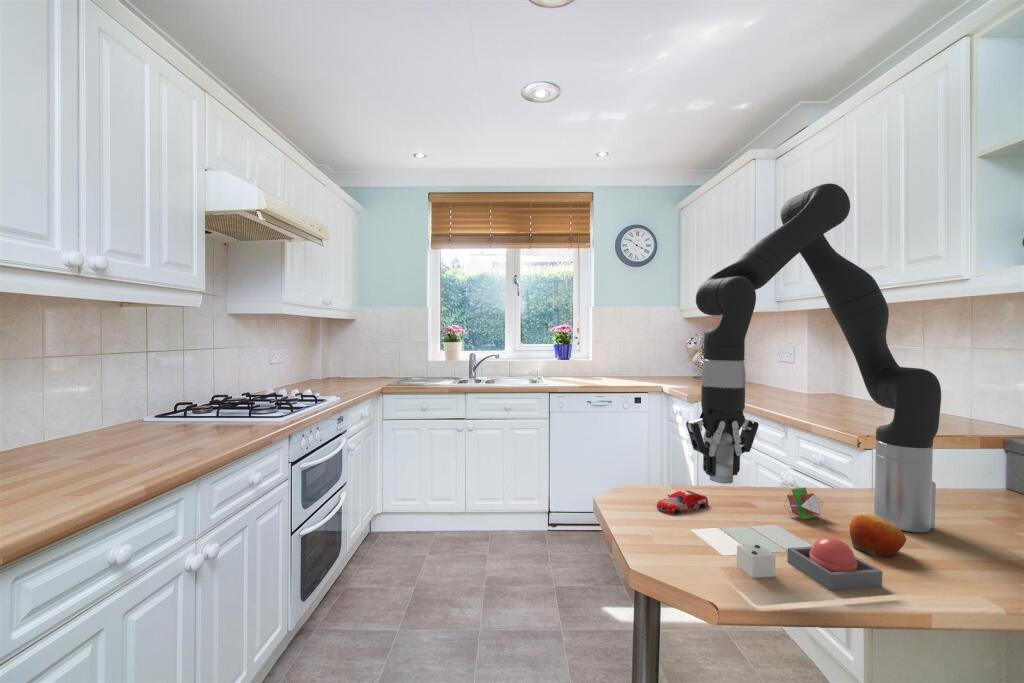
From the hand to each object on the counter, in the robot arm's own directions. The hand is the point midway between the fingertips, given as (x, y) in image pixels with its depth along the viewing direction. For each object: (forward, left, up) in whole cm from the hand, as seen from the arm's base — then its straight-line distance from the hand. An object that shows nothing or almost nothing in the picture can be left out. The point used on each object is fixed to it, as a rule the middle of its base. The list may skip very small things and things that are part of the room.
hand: (721, 474), depth 87 cm
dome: (-11, +14, -13) cm, 22 cm away
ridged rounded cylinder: (0, 0, -1) cm, 1 cm away
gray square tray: (-11, +14, -13) cm, 22 cm away
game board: (-7, 0, -13) cm, 15 cm away
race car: (-2, -17, -14) cm, 22 cm away
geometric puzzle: (-25, -9, -14) cm, 30 cm away
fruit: (-26, +7, -14) cm, 30 cm away
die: (+1, +11, -13) cm, 17 cm away
